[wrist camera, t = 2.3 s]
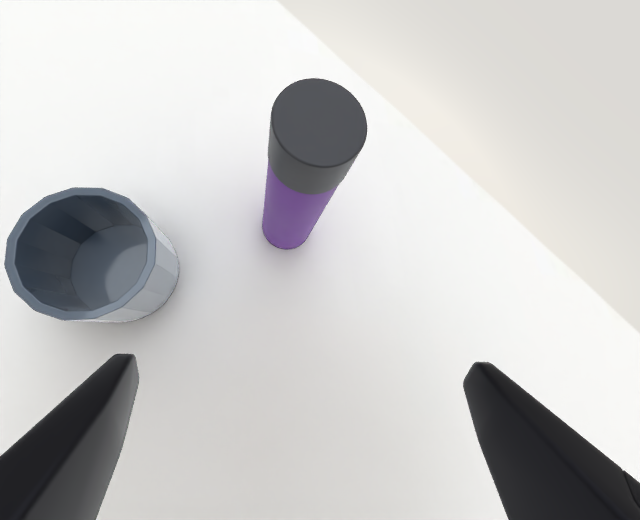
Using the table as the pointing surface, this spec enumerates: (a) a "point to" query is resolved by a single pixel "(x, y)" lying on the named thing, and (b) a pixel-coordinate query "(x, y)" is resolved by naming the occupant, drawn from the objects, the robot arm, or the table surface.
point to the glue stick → (308, 156)
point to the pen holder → (90, 258)
